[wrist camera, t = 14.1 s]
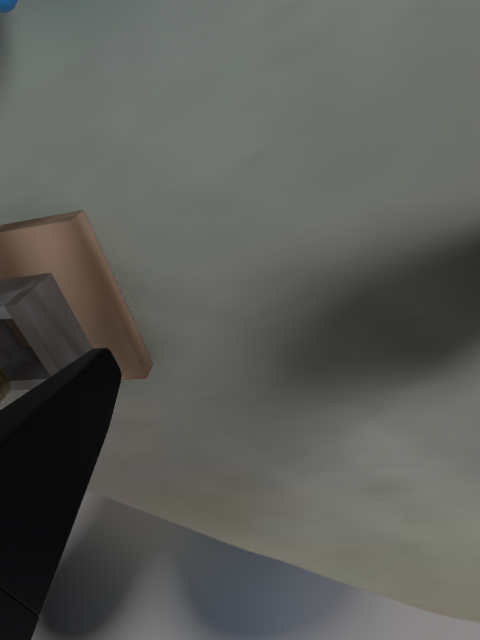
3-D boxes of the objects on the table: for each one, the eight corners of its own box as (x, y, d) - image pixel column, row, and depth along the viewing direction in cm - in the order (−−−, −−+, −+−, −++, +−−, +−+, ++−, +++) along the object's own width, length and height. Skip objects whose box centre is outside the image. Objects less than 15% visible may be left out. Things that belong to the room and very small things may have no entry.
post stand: (83, 210, 22) (34, 248, 18) (152, 364, 29) (128, 416, 25) (-78, 239, 25) (-151, 277, 21) (19, 373, 32) (-22, 421, 28)
